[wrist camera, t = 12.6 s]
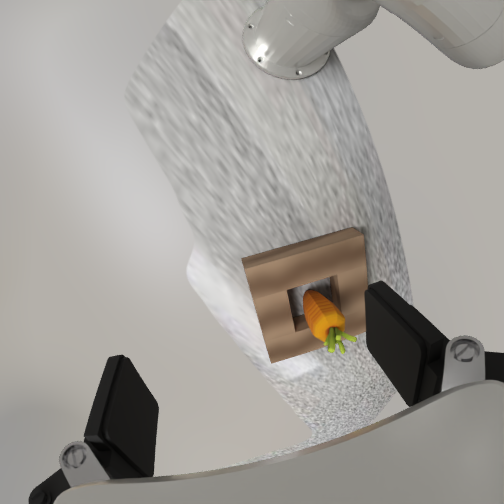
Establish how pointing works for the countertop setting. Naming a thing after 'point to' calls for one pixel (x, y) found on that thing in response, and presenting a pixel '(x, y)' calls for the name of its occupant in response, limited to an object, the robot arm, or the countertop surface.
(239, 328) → the countertop surface
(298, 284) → the socket block
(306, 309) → the carrot
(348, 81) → the countertop surface
